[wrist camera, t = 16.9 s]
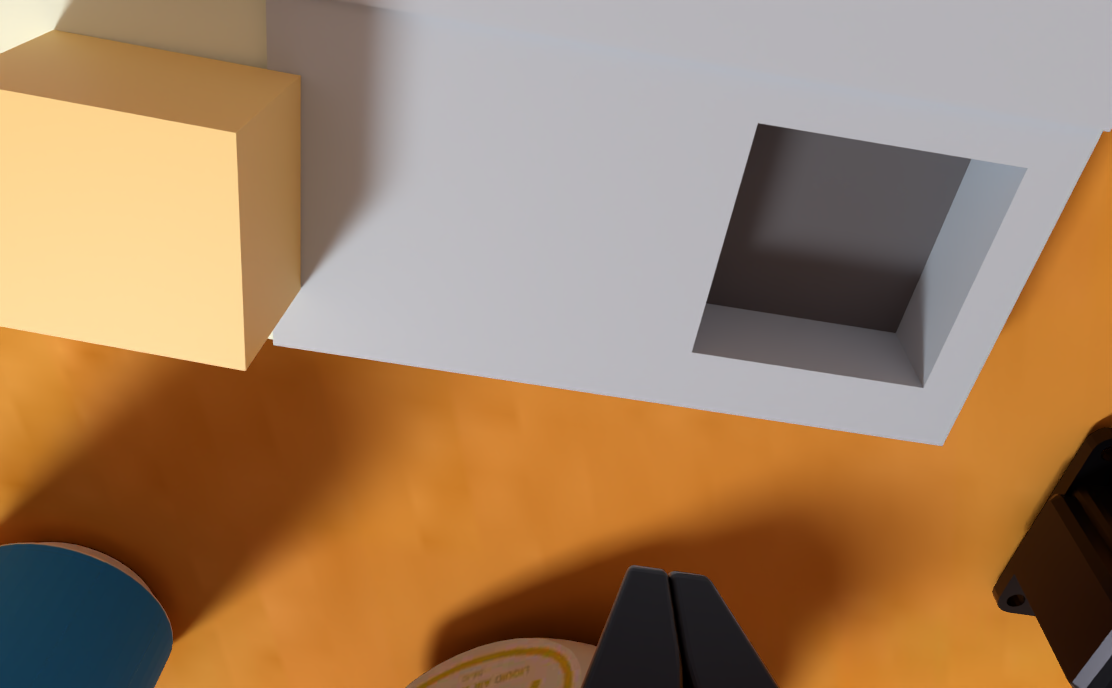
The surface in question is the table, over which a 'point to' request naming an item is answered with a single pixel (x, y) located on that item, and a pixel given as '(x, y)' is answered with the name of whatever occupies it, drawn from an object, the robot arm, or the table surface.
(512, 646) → the air freshener
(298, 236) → the ochre block
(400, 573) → the table surface
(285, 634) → the table surface
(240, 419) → the table surface
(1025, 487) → the table surface
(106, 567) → the beverage can
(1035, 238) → the trap board
